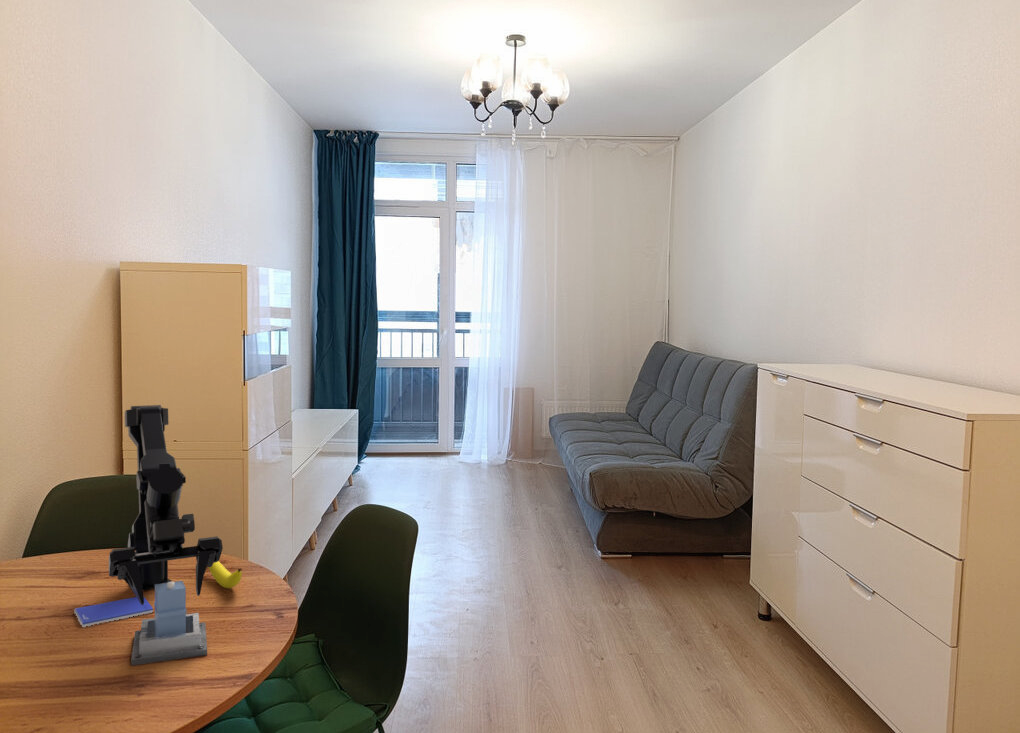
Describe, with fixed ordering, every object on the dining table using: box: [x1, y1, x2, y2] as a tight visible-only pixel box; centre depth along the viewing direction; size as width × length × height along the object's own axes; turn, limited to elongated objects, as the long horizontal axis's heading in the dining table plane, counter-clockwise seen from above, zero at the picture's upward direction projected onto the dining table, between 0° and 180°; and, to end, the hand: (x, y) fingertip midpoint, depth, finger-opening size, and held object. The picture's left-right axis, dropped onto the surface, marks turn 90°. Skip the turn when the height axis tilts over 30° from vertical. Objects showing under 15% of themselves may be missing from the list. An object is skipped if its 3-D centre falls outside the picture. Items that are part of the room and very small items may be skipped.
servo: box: [153, 580, 188, 637], centre depth 137 cm, size 6×5×11 cm
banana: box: [208, 560, 243, 589], centre depth 166 cm, size 3×19×6 cm, turn 41°
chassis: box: [130, 612, 208, 667], centre depth 137 cm, size 12×12×4 cm
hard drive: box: [73, 596, 154, 628], centre depth 150 cm, size 2×8×12 cm
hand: (171, 599), depth 135 cm, fingers open, 9 cm apart
